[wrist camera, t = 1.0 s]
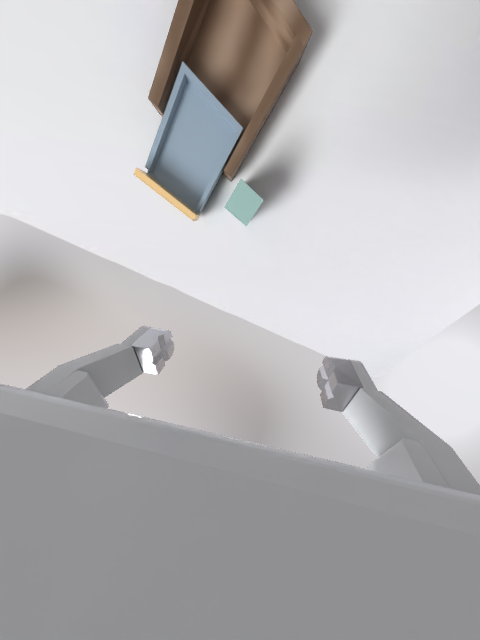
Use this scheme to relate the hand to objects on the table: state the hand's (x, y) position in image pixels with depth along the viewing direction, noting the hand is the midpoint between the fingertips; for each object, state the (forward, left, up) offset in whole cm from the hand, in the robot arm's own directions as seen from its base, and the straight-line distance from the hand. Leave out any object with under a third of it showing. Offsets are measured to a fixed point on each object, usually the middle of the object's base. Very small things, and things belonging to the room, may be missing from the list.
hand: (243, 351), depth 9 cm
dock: (-16, +19, -40) cm, 47 cm away
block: (-4, +7, -40) cm, 41 cm away
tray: (-16, +8, -38) cm, 42 cm away
